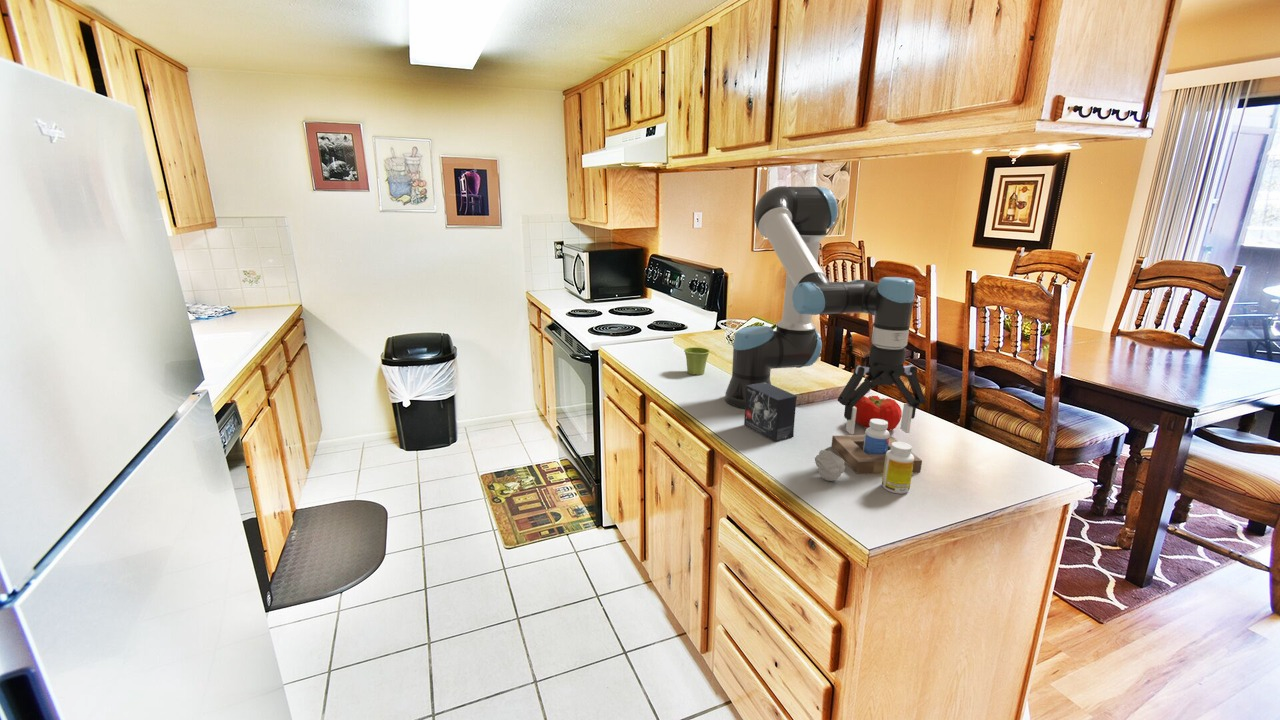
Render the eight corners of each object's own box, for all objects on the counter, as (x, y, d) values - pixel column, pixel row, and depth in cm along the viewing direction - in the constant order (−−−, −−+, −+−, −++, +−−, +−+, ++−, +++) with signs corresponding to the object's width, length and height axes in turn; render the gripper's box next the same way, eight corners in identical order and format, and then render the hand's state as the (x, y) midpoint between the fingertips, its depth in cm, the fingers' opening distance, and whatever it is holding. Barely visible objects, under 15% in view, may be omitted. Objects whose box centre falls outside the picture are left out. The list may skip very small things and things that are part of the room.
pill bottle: (888, 464, 130) (893, 426, 128) (864, 462, 131) (869, 425, 129) (883, 455, 135) (888, 418, 133) (860, 453, 136) (864, 416, 134)
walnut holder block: (831, 446, 140) (832, 435, 139) (888, 445, 141) (889, 434, 140) (857, 473, 126) (858, 462, 125) (920, 472, 127) (922, 460, 126)
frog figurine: (806, 475, 125) (809, 447, 123) (834, 471, 127) (837, 444, 125) (821, 487, 119) (824, 458, 117) (849, 484, 121) (853, 455, 119)
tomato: (903, 424, 155) (907, 396, 152) (894, 439, 145) (899, 409, 142) (856, 415, 162) (859, 387, 159) (845, 428, 152) (848, 399, 149)
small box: (742, 425, 153) (745, 384, 150) (761, 421, 156) (764, 381, 153) (774, 442, 142) (777, 399, 139) (794, 437, 145) (798, 395, 142)
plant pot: (695, 367, 208) (696, 345, 206) (714, 373, 201) (715, 350, 199) (677, 372, 202) (678, 349, 200) (696, 378, 195) (697, 354, 193)
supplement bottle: (914, 494, 117) (921, 450, 114) (889, 495, 116) (895, 451, 114) (901, 482, 122) (907, 439, 119) (876, 482, 122) (882, 440, 119)
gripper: (842, 350, 121) (832, 438, 127) (950, 349, 123) (936, 436, 128) (829, 342, 128) (820, 426, 134) (931, 341, 130) (918, 424, 136)
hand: (877, 431), depth 131 cm, fingers open, 13 cm apart
